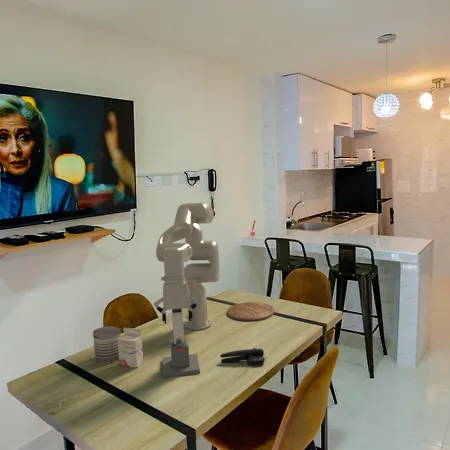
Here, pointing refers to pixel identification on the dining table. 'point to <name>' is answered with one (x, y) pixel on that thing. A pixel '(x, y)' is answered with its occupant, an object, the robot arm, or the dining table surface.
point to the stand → (180, 361)
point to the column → (178, 326)
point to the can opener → (244, 356)
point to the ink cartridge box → (130, 348)
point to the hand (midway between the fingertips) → (177, 321)
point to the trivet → (250, 311)
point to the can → (106, 344)
